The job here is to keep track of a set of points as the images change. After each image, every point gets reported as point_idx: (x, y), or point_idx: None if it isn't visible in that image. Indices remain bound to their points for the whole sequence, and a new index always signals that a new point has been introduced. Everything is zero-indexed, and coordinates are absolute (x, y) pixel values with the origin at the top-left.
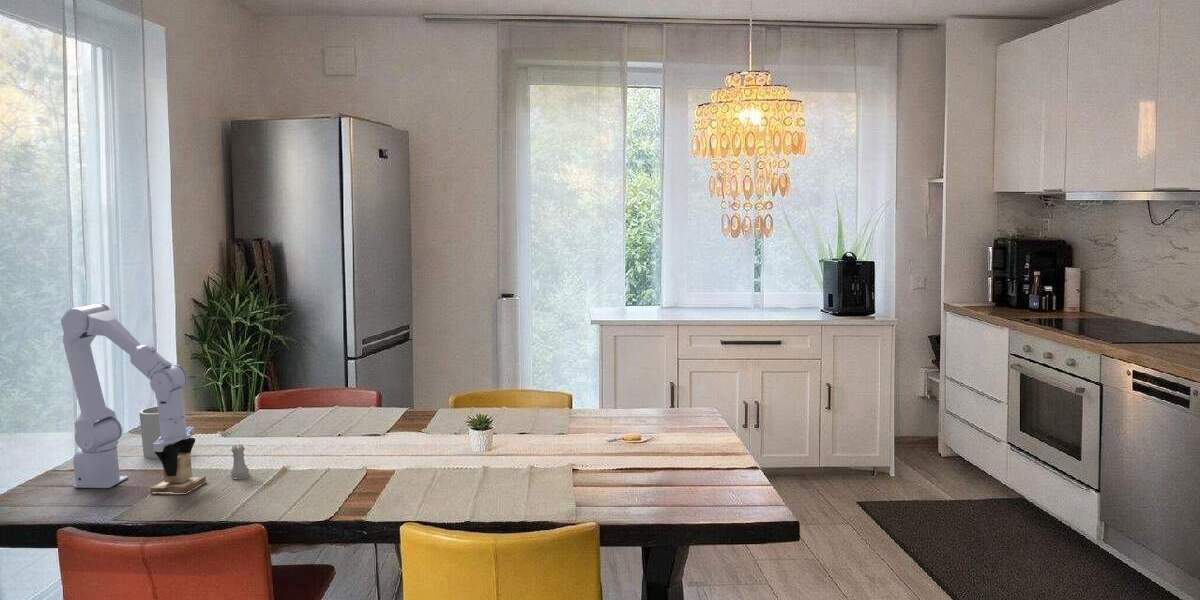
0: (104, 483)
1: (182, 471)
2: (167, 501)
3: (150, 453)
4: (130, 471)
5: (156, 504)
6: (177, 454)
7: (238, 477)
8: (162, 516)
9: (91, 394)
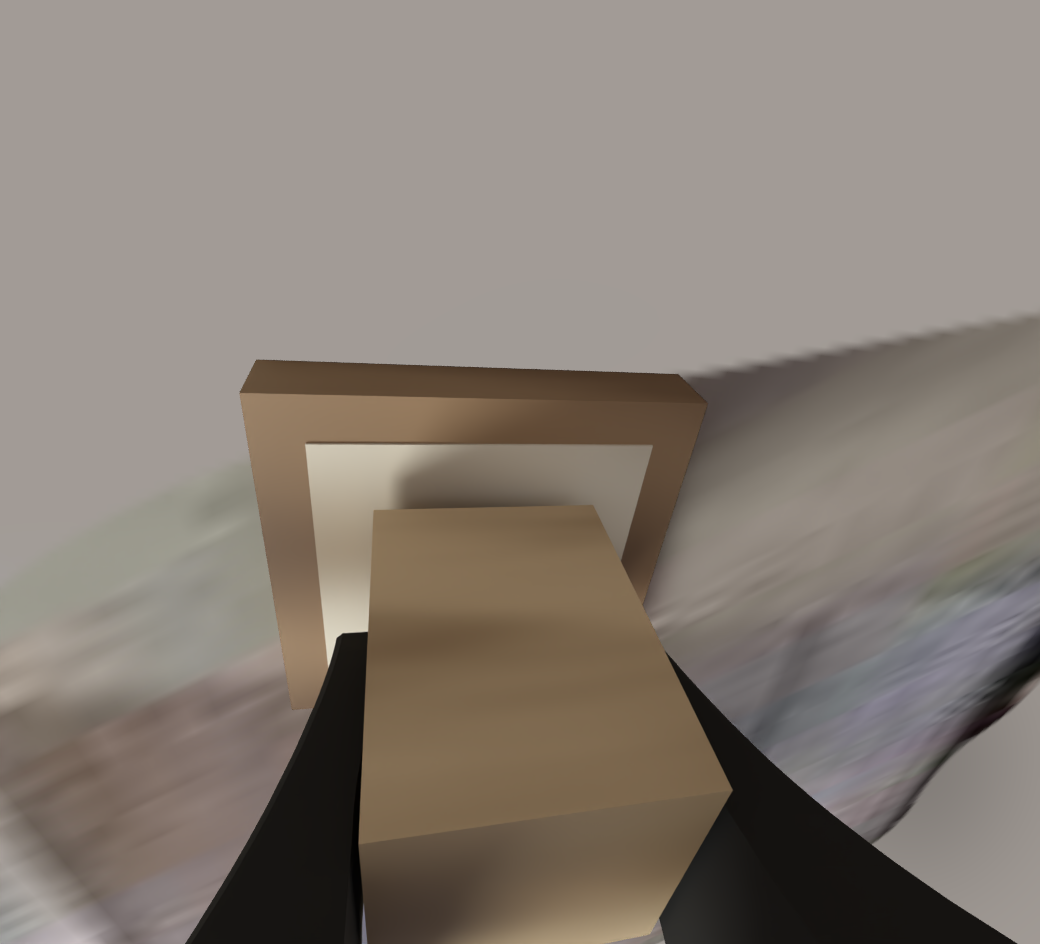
0: None
1: (603, 596)
2: (817, 444)
3: None
4: (154, 929)
5: (860, 488)
6: (813, 894)
7: None
8: None
9: None
